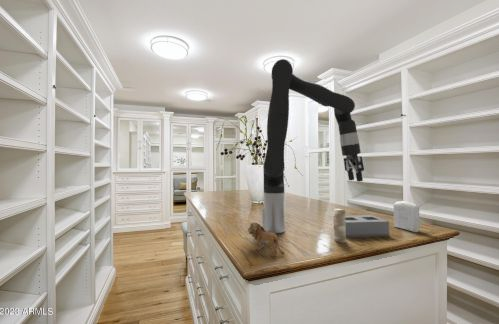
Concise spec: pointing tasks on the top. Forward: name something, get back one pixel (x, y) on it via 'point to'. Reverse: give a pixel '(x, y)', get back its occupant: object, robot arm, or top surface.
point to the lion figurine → (264, 237)
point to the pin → (339, 225)
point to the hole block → (366, 226)
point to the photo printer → (406, 216)
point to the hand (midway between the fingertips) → (355, 180)
